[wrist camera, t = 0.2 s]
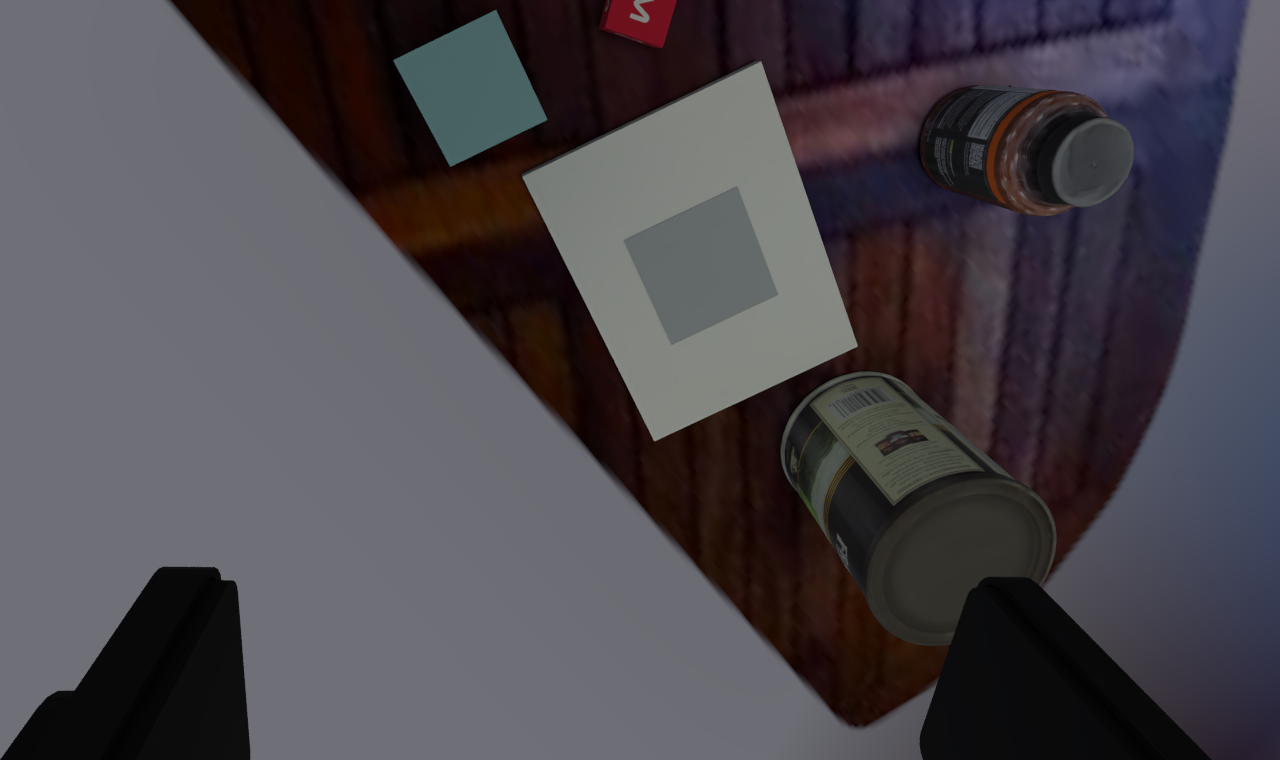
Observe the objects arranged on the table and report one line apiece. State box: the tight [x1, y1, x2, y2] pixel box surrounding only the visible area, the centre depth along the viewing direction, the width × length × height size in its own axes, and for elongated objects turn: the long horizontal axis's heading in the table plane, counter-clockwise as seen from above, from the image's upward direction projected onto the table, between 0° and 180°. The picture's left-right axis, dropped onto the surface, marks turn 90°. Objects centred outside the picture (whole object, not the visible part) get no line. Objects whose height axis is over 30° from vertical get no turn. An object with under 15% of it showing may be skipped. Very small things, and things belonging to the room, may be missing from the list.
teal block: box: [393, 10, 547, 167], centre depth 38 cm, size 5×5×6 cm
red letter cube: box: [599, 0, 677, 48], centre depth 39 cm, size 3×3×3 cm
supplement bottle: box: [920, 85, 1134, 216], centre depth 40 cm, size 6×6×11 cm
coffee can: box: [781, 371, 1056, 646], centre depth 46 cm, size 10×10×14 cm
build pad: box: [522, 61, 857, 441], centre depth 46 cm, size 18×14×1 cm
